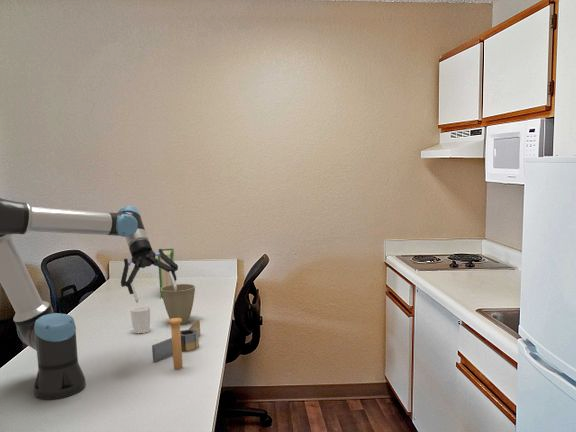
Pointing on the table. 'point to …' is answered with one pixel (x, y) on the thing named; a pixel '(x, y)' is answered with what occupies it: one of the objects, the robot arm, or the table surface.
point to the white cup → (140, 319)
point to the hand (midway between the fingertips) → (156, 294)
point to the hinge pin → (176, 342)
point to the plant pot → (178, 301)
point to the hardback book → (164, 274)
